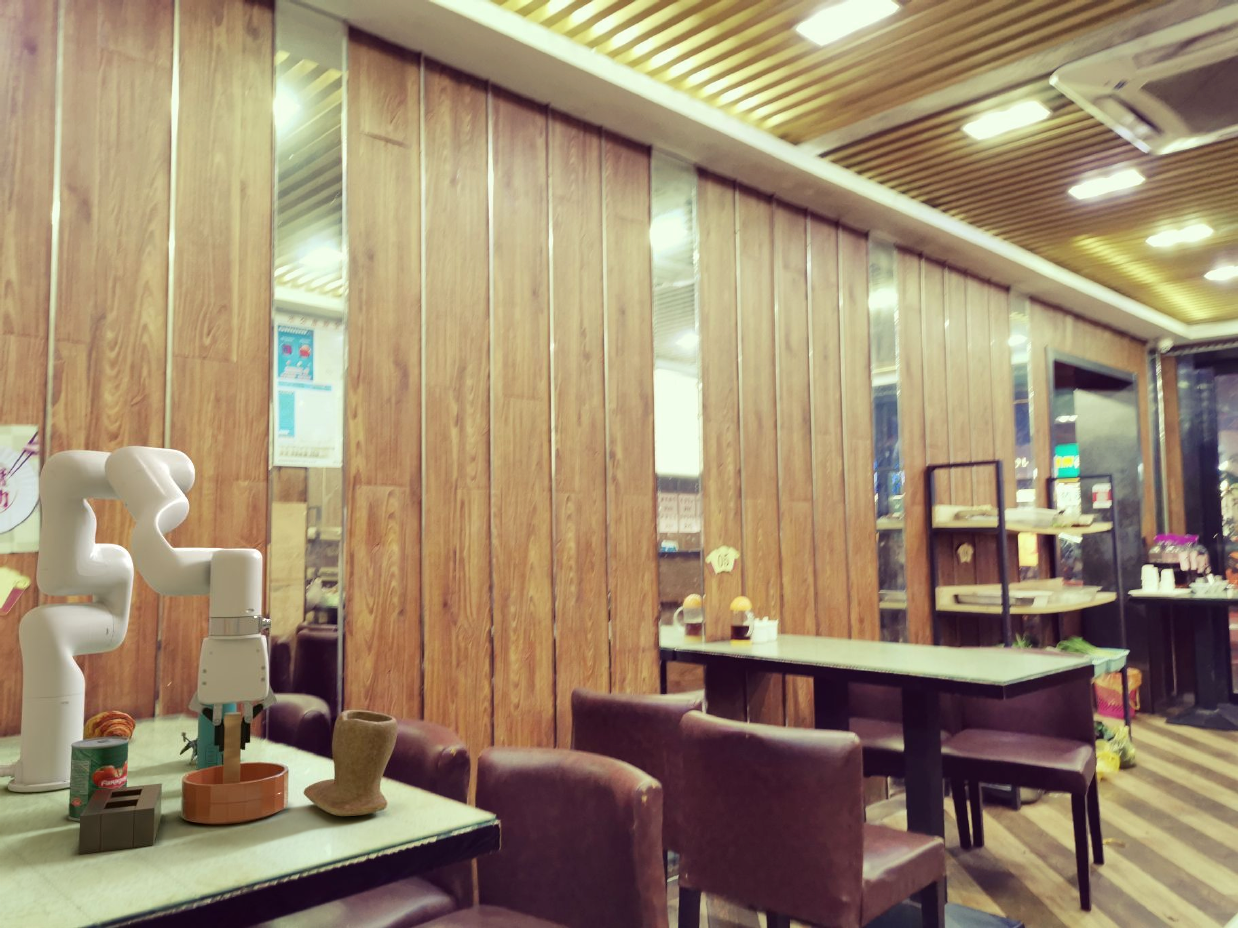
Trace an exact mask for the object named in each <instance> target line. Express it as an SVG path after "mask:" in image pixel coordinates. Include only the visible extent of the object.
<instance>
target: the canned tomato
mask: <svg viewBox="0 0 1238 928" xmlns="http://www.w3.org/2000/svg"><path fill="white" fill-rule="evenodd" d="M129 741H130V739H128V738H126V737H100V738H92V739H86V740H81V741H77V742H74V743H73V744H72V745H71V747H72V752H71V772H70V787H69V794H68V795H69V799H68V816H67V818H68V819H69V820H70V821H75V822H80V815H81V814H82V812H83V810H84V809H85V807H86V805H87V803H88V802H89V800H90V798H91V797H92V795H93V793H94V791H95V790H100V789H110V788H120V787H128V766H129V765H128V762H129Z"/></svg>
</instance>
